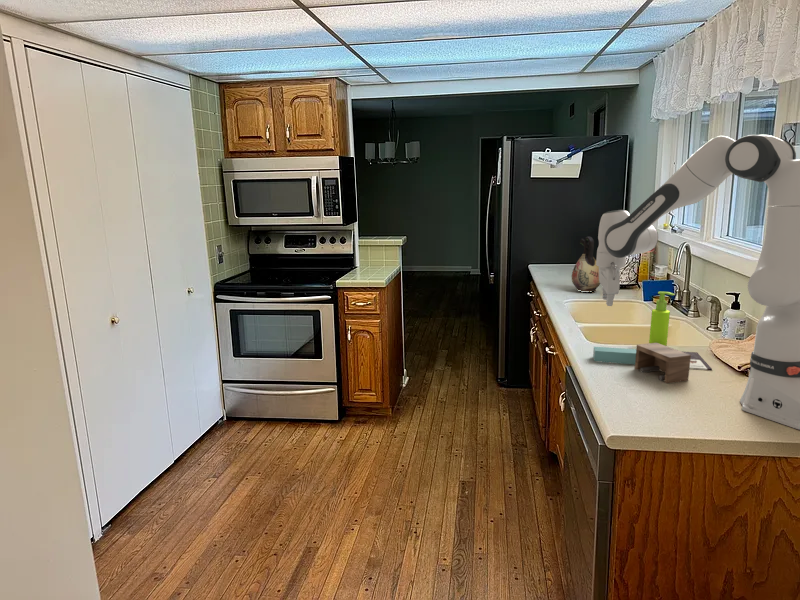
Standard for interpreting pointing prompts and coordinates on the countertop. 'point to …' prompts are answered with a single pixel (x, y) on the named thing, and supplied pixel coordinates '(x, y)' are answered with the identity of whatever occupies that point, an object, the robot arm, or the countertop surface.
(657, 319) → the soap dispenser
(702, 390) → the countertop surface
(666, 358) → the shelf
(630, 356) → the case
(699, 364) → the chocolate bar
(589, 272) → the ceramic jug
